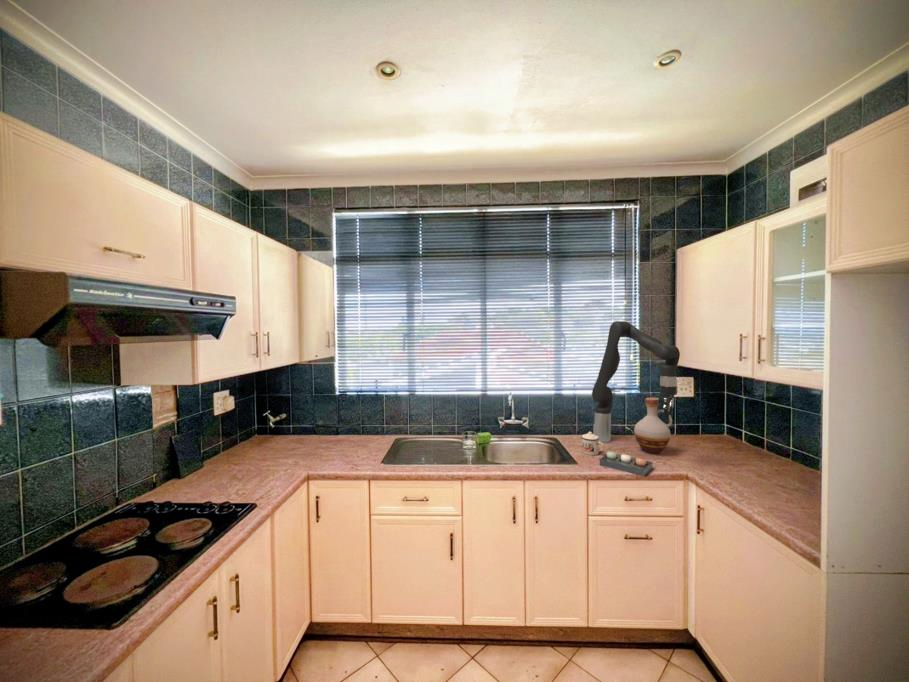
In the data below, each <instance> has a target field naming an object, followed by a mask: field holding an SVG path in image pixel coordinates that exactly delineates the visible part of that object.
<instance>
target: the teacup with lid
mask: <svg viewBox="0 0 909 682" xmlns="http://www.w3.org/2000/svg"><path fill="white" fill-rule="evenodd" d="M599 445H601V448H599ZM604 448H605V445H604V442H600V441H599V437H598V436H596V435H594V434H593V432H592V431H588V432H587V433H584V434H582V435H581V452H582V454H585V455H588V456H597V455H599V452H601V451H602V450H604Z"/></svg>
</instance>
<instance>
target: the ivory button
mask: <svg viewBox="0 0 909 682" xmlns="http://www.w3.org/2000/svg"><path fill="white" fill-rule="evenodd" d="M620 455H621V462H625V463H629V464H630V463H631V458H632V457H631V455H630V454H625V453H623V454H622V453H621V454H620Z"/></svg>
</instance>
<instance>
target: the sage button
mask: <svg viewBox="0 0 909 682" xmlns="http://www.w3.org/2000/svg"><path fill="white" fill-rule="evenodd" d="M606 454H607V458H608V459H613V460H616V454H617V452H616V451H613V450H608V451H606Z"/></svg>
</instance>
